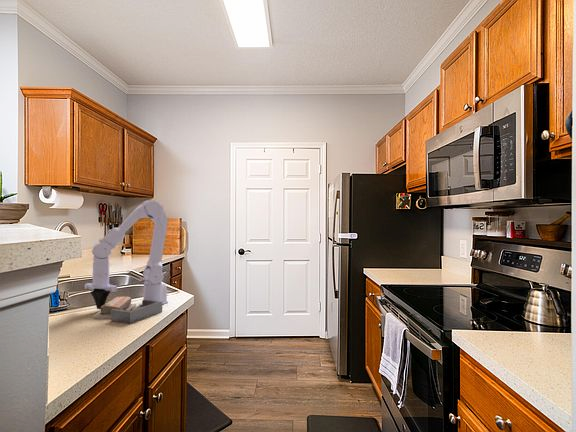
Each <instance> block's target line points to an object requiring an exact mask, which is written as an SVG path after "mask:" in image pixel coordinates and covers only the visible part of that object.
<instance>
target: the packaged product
mask: <svg viewBox="0 0 576 432" xmlns="http://www.w3.org/2000/svg"><path fill="white" fill-rule="evenodd" d="M132 300H133V299H132V297H130V296H115V297H114V298H112V299H111V300H109V301H108V302H107V301H106V302H105V304H104V305H103V306H101V308H100V309H99V310H100V311H97V312H96V313H94V314H93V315H92V317H93V319H95V320H96V319H102V320H103V319H111V310H112V309H119V310H127V311H130V310H131V309H132V310H134V308H136V306H137V303H134V304H133V303H132Z"/></svg>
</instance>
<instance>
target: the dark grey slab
mask: <svg viewBox="0 0 576 432" xmlns="http://www.w3.org/2000/svg"><path fill="white" fill-rule="evenodd" d="M141 301H142V302H141V303H142V306H141V307H138V308H135V309H134V308H133V309H132V310H131V311H127V310H119V309H112V310H111V318H110V322H114V323H122V324H127V325H130V324H133V323H136V322H139V321H141V320H143V319H147V318H149V317H151V316H154V315H157V314H159V313H160V314H161V313H162V312H163V304H162V301H153V300H143V299H142V300H141Z"/></svg>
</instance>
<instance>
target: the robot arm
mask: <svg viewBox="0 0 576 432" xmlns="http://www.w3.org/2000/svg"><path fill="white" fill-rule="evenodd" d="M146 217H149V218H150V220H151V221H152V222H153V223H154V228H153V233H152V240H151V245H150V251H149V256H148V260H147V262H146V264H145V265H146V266H145V268H144V269H143V270H142V271H143V272H142V277H143V279H144V281H143V297H142V298H143V299H142V300H153V301H162V305H164V304H167V303H169V301H168V299H167V298H168V297H167V296H168V295H167V294H168V293H167V291H168V287H167V285H166V283H165V282H163V279H164V273H163V263H162V261H163V260H162V259H163V254H164V253H163V252H164V247H165V242H166V241H165V240H166V236H167V235H166V234H167V230H168V229H167V228H168V222H169V220H168V217H167V214H166V213H165V209H164V206H163V205H162V204H161V203H160V202H159V201H158V200H156V199H151V200H145V201H143V202H142V203H141V204H140V205H138V206H137V207H136V208H134V209H133V211H132V212H131V213H130V214H129V215H128V216H127V217H126V218H125V219H124V221H122V223H121V224H120V225H119V226H118V227H112V228H111V229H110V228H109V229H108V230H107V233H106V234H105V236H104V237H102V238H100V239H98V242H99V243H95V244H94V246H93V248H92V250H91V253H92V255H93V260H92V261H93V262H92V282H87V283H84V289H85V290H88V289H89V290H92V291H90V295H91V296H92V297H93V300H94V303H95V306H96V309H97V310H101V309H100V308H101V306H103V305H104V304H106V303H107V300H108V296H109V295H110V293H113V292H118V286H117V285H113V284H110V256H111V253H112V250H114V249H115V248H116V247H117V246H118V245H119V244H120V243H121V242H122V240H124V238H125V237H126V236H125V235H126V232H127V231H128V230H129V229H131V227H132V226H133V225H134V224H136V223H137V222H138V221H139V219H142V218H146ZM138 306H141V307H142V302H141V303H138Z"/></svg>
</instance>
